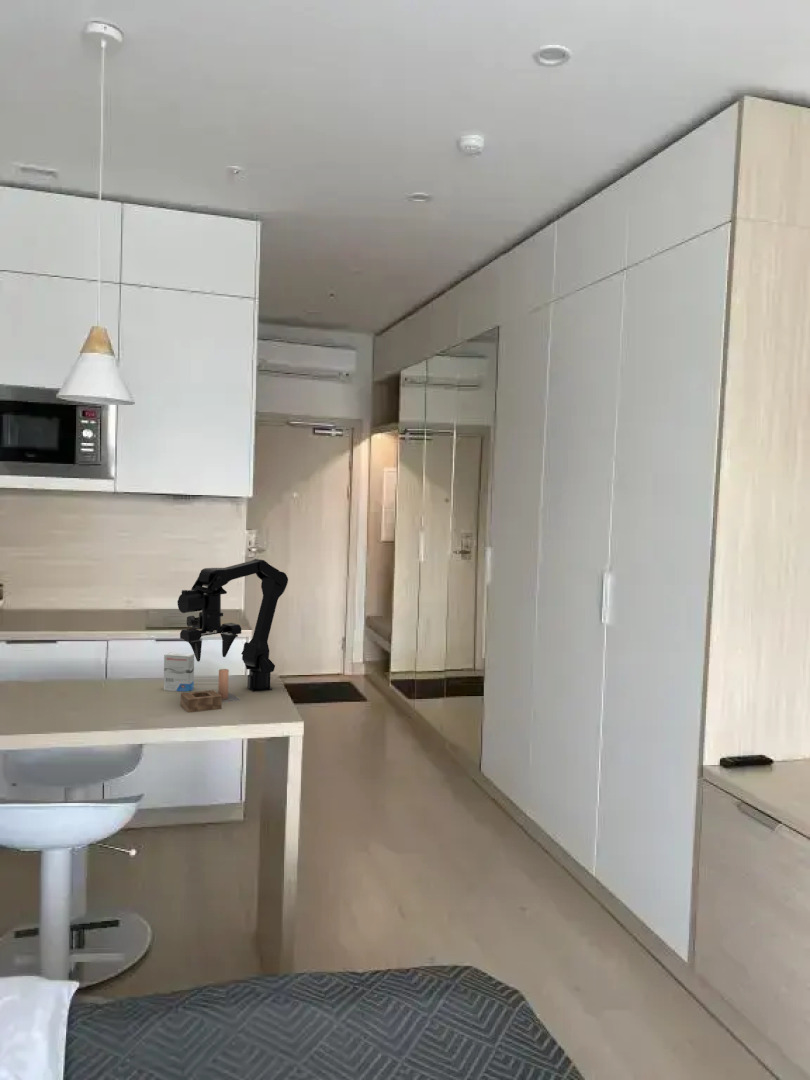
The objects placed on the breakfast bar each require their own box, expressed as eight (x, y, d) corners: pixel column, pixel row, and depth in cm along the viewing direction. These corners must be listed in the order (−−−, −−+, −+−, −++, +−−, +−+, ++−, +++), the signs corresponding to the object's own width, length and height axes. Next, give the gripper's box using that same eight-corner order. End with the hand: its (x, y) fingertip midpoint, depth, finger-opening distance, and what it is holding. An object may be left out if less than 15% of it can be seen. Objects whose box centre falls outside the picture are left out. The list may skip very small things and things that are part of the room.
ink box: (194, 688, 272) (195, 653, 271) (189, 692, 267) (189, 656, 266) (169, 687, 273) (169, 651, 272) (163, 691, 268) (163, 654, 267)
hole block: (213, 702, 256) (213, 690, 255) (221, 709, 249) (221, 696, 249) (180, 706, 251) (180, 693, 250) (188, 713, 244) (188, 699, 243)
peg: (226, 697, 262) (226, 668, 261) (229, 699, 259) (229, 670, 259) (216, 698, 260) (217, 669, 260) (219, 700, 258) (220, 671, 257)
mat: (232, 694, 266) (232, 693, 266) (240, 700, 259) (240, 699, 259) (207, 697, 262) (207, 696, 262) (215, 703, 255) (215, 702, 255)
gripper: (222, 602, 270) (222, 650, 272) (170, 609, 257) (170, 659, 258) (242, 607, 262) (242, 656, 264) (189, 614, 249) (189, 665, 251)
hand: (211, 659), depth 259 cm, fingers open, 9 cm apart
